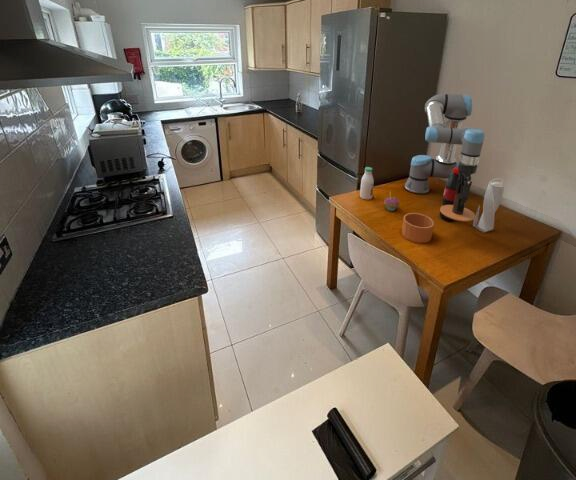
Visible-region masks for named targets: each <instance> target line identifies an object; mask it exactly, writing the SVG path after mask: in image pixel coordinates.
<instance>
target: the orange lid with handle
mask: <svg viewBox="0 0 576 480" xmlns="http://www.w3.org/2000/svg"><path fill="white" fill-rule="evenodd" d="M458 198H460V193H457V194H455V199H454V204H453V205H444V206H443V205H442V206H440V210H439V212H440V211H441V213H442V214H443V215H445V216H446V217H448V218H451V219H454V220H453V221H458V222H472V221H474V219H475V216H476V213H474V212H473V211H472V210H471V209H469V208H466V201H465V205H464V209H463V212H460V211H456V209H457V205H458V200H459V199H458Z"/></svg>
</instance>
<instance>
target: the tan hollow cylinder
mask: <svg viewBox="0 0 576 480" xmlns="http://www.w3.org/2000/svg"><path fill="white" fill-rule="evenodd" d="M434 226H435V221H434V220H433V219H432V218H431V217H429V216H428V215H426V214H423V213H417V212H409V213H406V214H404V216H403V219H402V225H401V235H402V236H403V237H404V238H405V239H407V240H409V241H411V242H413V243H418V244H424V243H425V244H426V243H429V242H430V241H432V237H433V233H434Z"/></svg>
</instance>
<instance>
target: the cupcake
mask: <svg viewBox="0 0 576 480" xmlns="http://www.w3.org/2000/svg"><path fill="white" fill-rule="evenodd" d="M383 203H384V204H385V207H386V210H387V211H391V212H394V211H396V209H397V207H399V206H400V201H399V199H398V198H396V197H394V196H392V192H391V191H389V196H388V197H385V198H384V200H383Z"/></svg>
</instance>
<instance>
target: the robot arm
mask: <svg viewBox="0 0 576 480" xmlns="http://www.w3.org/2000/svg"><path fill="white" fill-rule="evenodd" d="M472 112H473V99H472V97H471V96H470V95H468V94H452V93H439V94H435V95H433V96H432V97H430V98H429V99H428V100H427V101H426V102H425V104H424V113H425V114H426V115H427V123H428V126H427V127H426V129H425V135H424V136H425V141H426V142H427V143H428V142H429V143H436V144H440V148H439V152H438V154H437V155H436V156H435V158H432V156H431V155H427V154H419V155H415V156H413V157H412V158H411V162H410V168H409V175H408V178H407V180H406V181H405V184H404V189H405V190H406V191H407V192H409V193H412V194H416V195H424V194H428V193H429V192H430V184H429V178H437V179H444V180H445V179H447V180H448V179H449V178H450V177H451V176H452V174H453V173H452V171H453V168H458V171H459V177H458V181H457V186H456V190H457V191H456V192H457V193H460V198H458V199H459V200H458V205H457V209H456V211H460V212H463V209H464V208H465V207H464V205H465V206H466V203H465V201H468V200H469V196H470V191H471V186H472V184H473V181H472V175H475V174H476V173H477V170H478V165H479V162H480V158H481V153H482V149H483V145H484V142H485V135H486V134H485V131H484V130H481V129H477V128H471V127H462V125H463V122H464V121H466V120H467V118H468V117H470V116H471V115H472ZM458 145H461V150H460V151H461V152H460V155H458V158H459V162H458V161H457V159H456V158H455V155H456V150H457V146H458ZM457 193H456V194H457Z"/></svg>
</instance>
